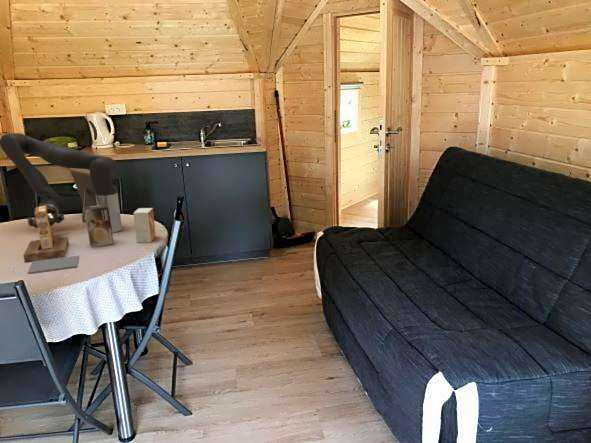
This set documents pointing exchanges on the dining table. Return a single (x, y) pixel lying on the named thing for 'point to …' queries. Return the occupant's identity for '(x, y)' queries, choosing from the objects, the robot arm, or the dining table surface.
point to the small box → (144, 224)
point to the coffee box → (98, 225)
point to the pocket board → (46, 250)
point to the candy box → (44, 227)
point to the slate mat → (53, 264)
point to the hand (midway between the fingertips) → (43, 224)
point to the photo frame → (84, 187)
